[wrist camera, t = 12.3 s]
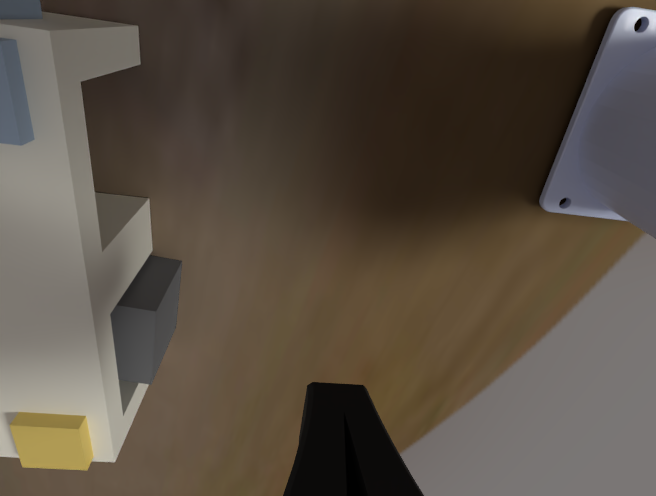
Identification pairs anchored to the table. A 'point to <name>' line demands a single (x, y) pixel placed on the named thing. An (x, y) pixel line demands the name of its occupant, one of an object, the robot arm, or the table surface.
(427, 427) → the table surface
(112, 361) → the socket box
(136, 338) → the plug
